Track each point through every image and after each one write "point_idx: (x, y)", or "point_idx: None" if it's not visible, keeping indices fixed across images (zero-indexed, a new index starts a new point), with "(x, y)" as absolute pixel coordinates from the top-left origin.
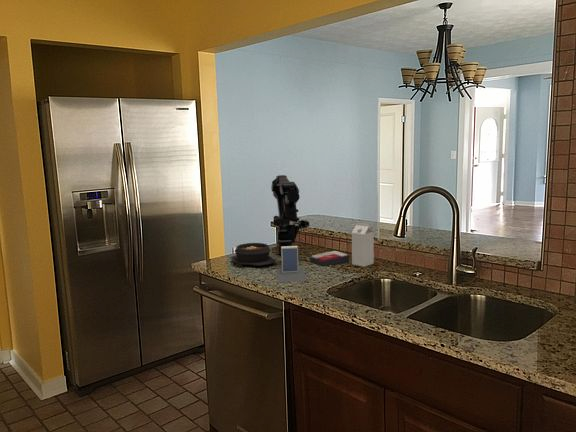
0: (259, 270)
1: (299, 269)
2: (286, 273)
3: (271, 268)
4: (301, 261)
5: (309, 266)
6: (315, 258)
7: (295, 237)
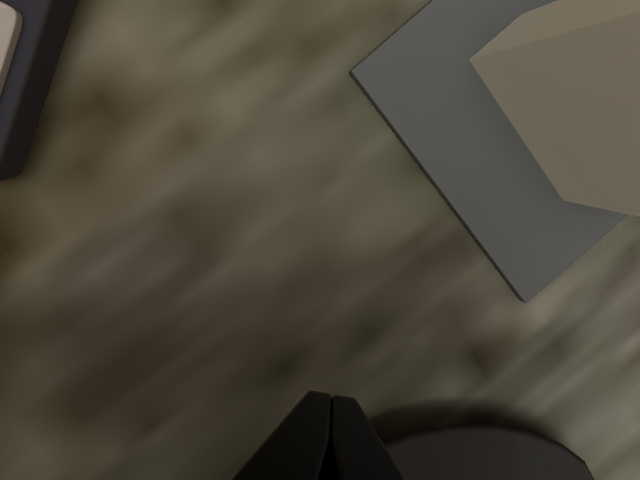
0: (595, 414)
1: (427, 65)
2: None
3: (491, 374)
4: (56, 298)
5: (207, 60)
6: (15, 48)
7: (297, 438)
